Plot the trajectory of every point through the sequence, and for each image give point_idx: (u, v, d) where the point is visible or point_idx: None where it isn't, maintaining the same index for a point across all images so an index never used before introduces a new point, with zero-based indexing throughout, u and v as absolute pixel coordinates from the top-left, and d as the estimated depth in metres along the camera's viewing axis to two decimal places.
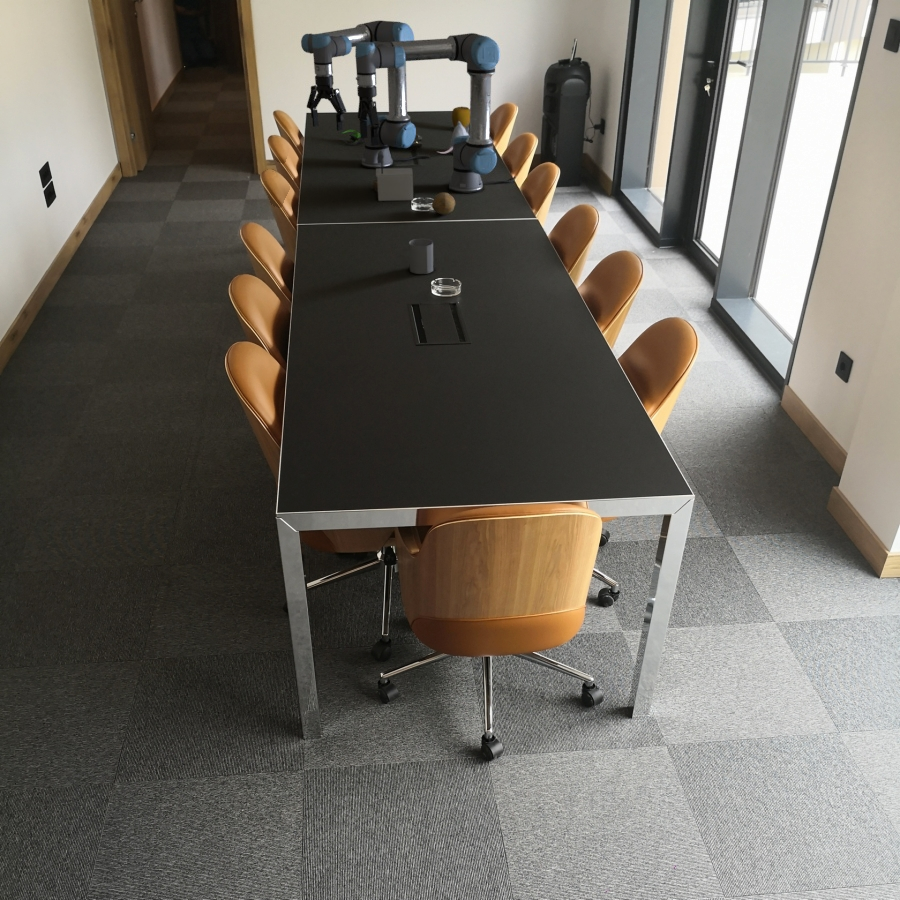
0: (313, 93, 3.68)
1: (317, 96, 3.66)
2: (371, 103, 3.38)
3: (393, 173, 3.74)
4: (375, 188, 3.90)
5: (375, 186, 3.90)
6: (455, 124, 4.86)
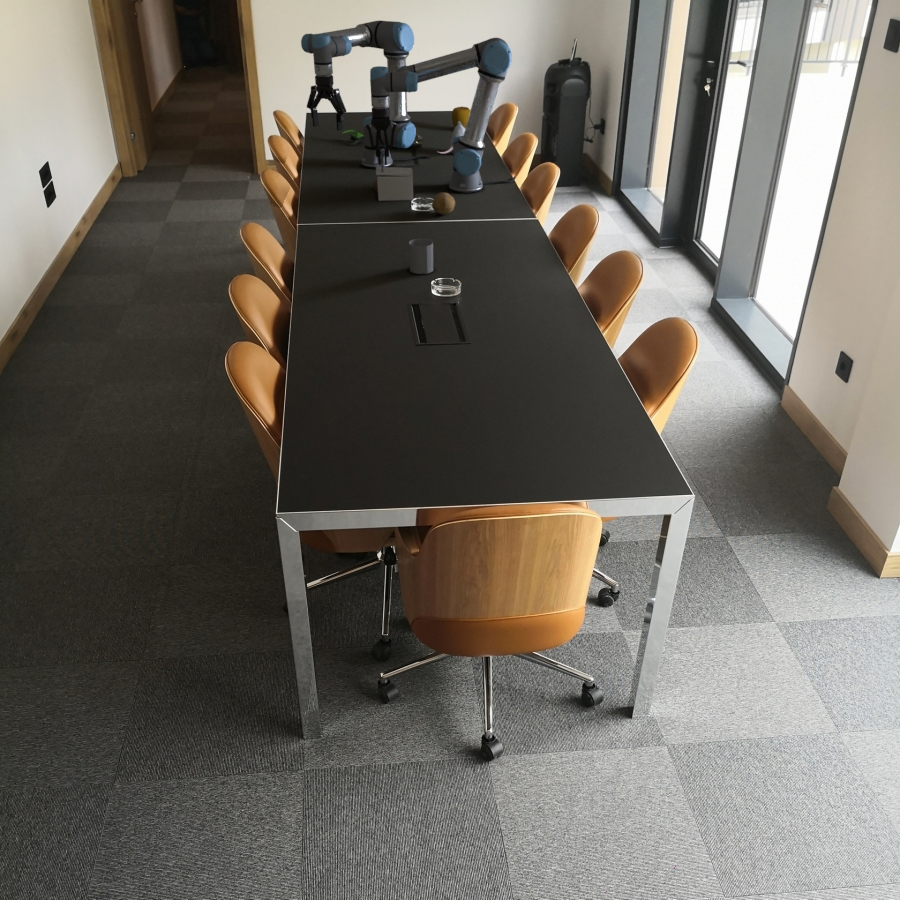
0: (313, 93, 3.68)
1: (317, 96, 3.66)
2: None
3: (393, 172, 3.73)
4: (375, 188, 3.90)
5: (375, 186, 3.90)
6: (455, 124, 4.86)
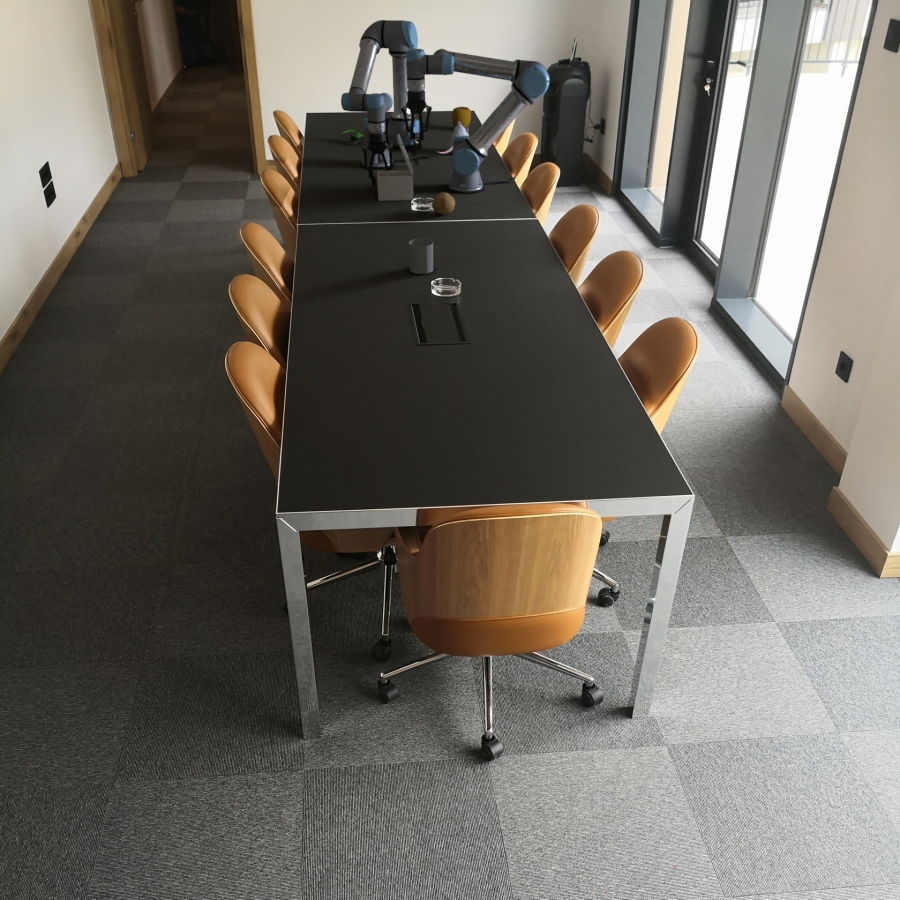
0: (366, 153, 3.82)
1: (373, 154, 3.82)
2: (431, 109, 3.63)
3: (406, 155, 3.70)
4: (375, 184, 3.89)
5: (375, 182, 3.89)
6: (455, 124, 4.86)
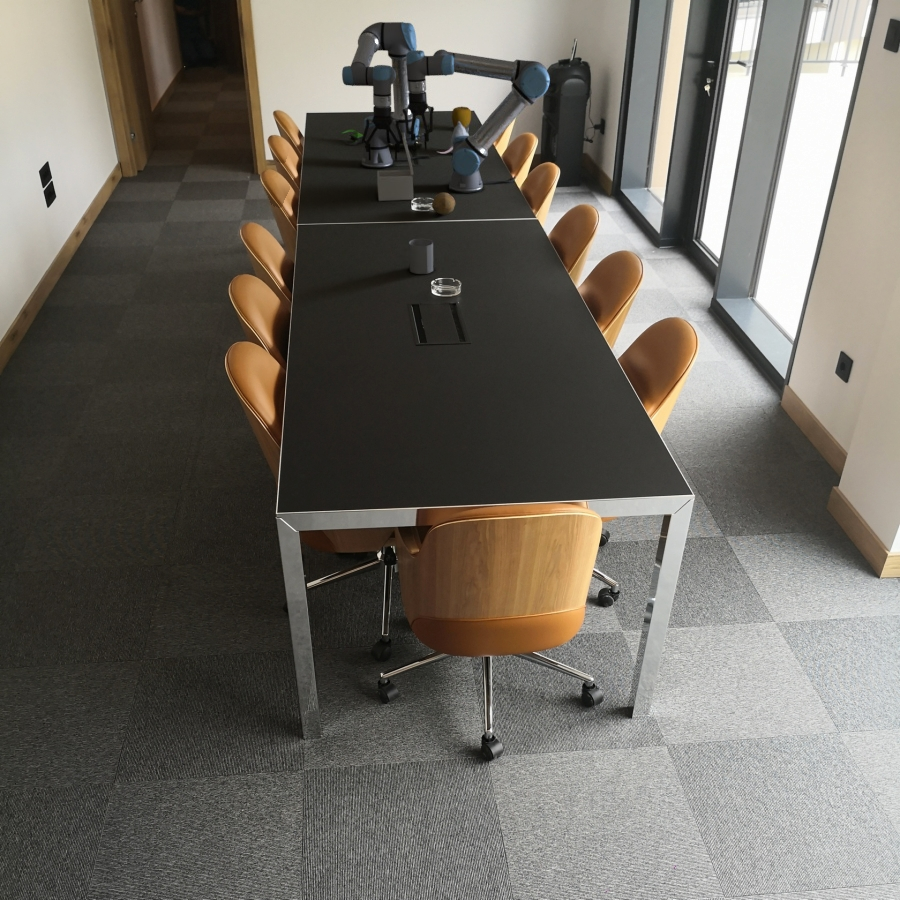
0: (368, 126, 3.65)
1: (376, 128, 3.65)
2: (433, 109, 3.63)
3: (408, 154, 3.69)
4: None
5: None
6: (455, 124, 4.86)
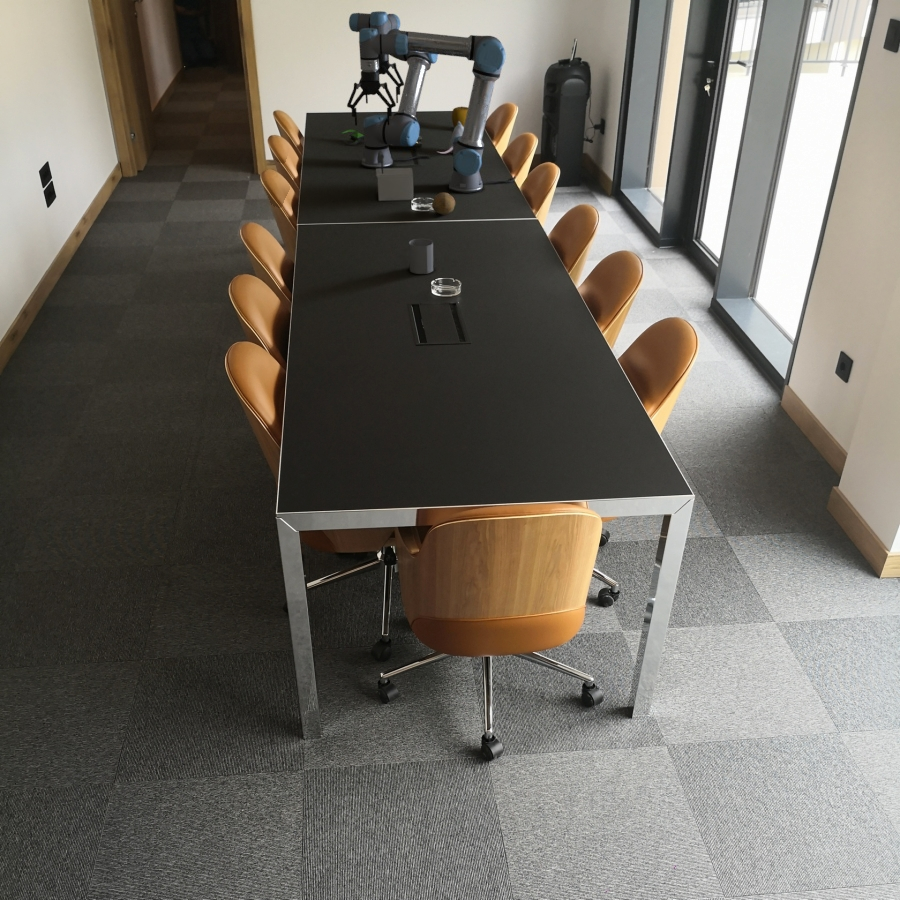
0: None
1: None
2: (386, 84, 3.57)
3: (393, 173, 3.74)
4: None
5: None
6: (455, 124, 4.86)
